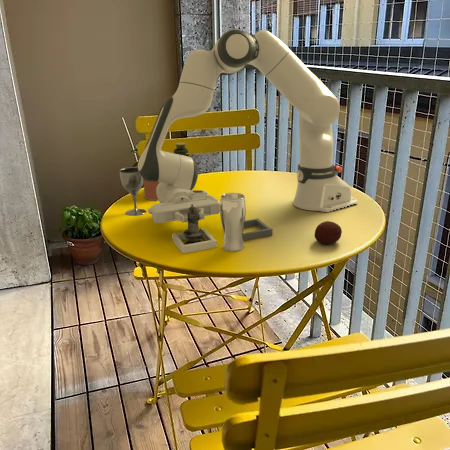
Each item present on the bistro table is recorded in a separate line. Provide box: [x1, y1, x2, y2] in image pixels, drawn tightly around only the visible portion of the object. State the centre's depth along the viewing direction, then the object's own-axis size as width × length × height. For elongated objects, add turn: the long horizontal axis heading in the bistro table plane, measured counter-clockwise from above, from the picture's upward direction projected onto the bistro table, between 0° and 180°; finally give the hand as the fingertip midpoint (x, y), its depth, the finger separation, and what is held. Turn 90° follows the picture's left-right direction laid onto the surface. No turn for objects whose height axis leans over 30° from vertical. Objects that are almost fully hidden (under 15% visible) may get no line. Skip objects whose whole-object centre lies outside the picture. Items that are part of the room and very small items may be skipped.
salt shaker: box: [182, 204, 204, 245], centre depth 128 cm, size 6×6×12 cm
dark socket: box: [243, 218, 273, 242], centre depth 136 cm, size 10×10×2 cm
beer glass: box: [219, 192, 247, 253], centre depth 124 cm, size 7×7×15 cm
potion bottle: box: [173, 142, 189, 156], centre depth 178 cm, size 8×8×18 cm
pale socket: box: [171, 228, 218, 254], centre depth 130 cm, size 10×10×2 cm
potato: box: [314, 220, 343, 245], centre depth 128 cm, size 7×8×6 cm
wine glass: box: [119, 166, 147, 217], centre depth 153 cm, size 8×8×15 cm
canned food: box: [143, 180, 160, 201], centre depth 171 cm, size 11×11×12 cm
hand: (193, 218), depth 126 cm, fingers closed on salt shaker, 3 cm apart
